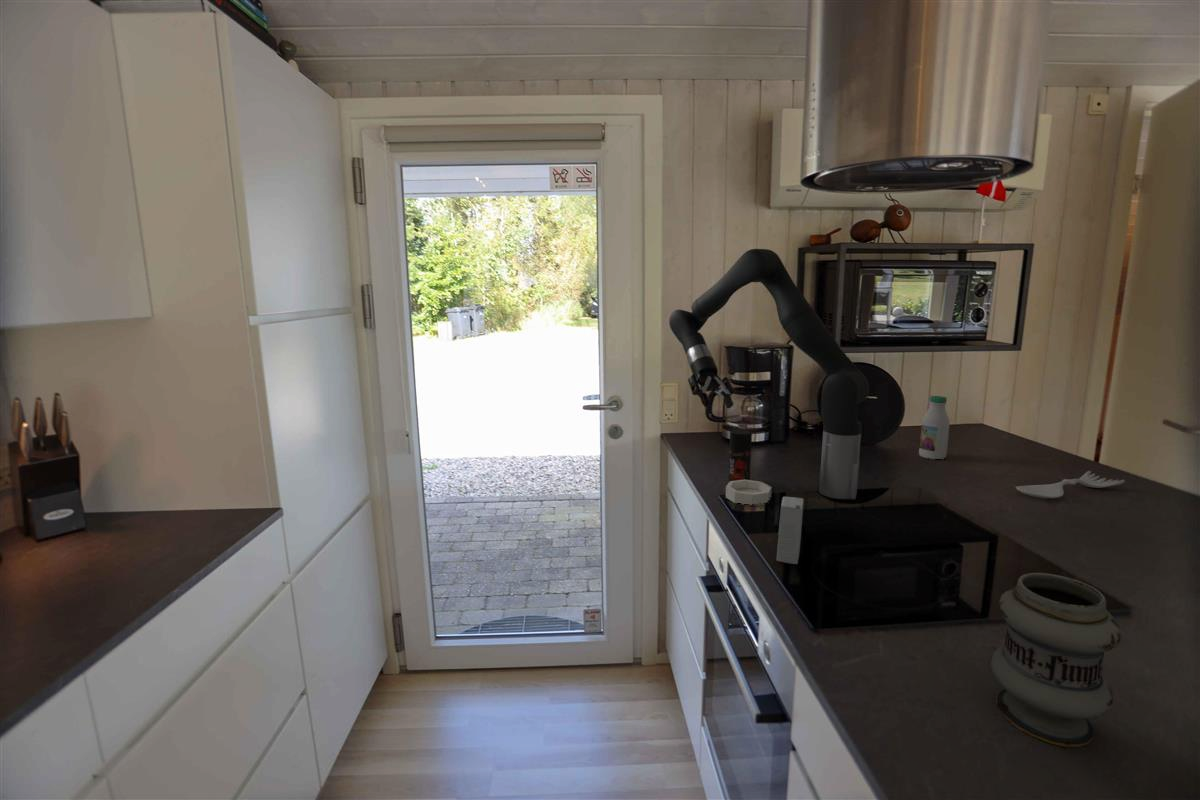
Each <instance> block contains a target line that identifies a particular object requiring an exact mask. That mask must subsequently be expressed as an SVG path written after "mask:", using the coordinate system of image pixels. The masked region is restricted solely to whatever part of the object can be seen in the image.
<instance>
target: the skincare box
mask: <svg viewBox="0 0 1200 800" xmlns="http://www.w3.org/2000/svg"><path fill="white" fill-rule="evenodd" d="M804 502H805V501H804V498H802V497H801V498H800V497H793V496H783V497H782V498H781V505H780V512H779V513H780V515H779V524H778V536H777V537H778V538H777V547H776V548H777V549H776V559H775V560H776V561H777V562H780V563H786V564H792V565H798V563H799V558H800V550H801V538H802V526H803V515H804V513H803V512H804Z"/></svg>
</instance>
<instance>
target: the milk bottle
mask: <svg viewBox="0 0 1200 800" xmlns="http://www.w3.org/2000/svg"><path fill="white" fill-rule="evenodd" d="M947 399H948V398H947V397H946V396H942V395H932V396H931V395H930V397H929V407H928V410H927V412H926V413H925V415H924V416H923V418H922V423H921V430H920V438H919V450H918V455H919V456H920V457H922V458H925V459H928V458H929V459H928V460H935V459H941V460H945V459H946V458H947V454H948V453H947V452H948V444H949V443H948V442H949V434H950V432H949V431H950V419H949V416H948V414H947V411H946V405H947ZM944 458H945V459H944Z"/></svg>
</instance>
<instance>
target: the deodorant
mask: <svg viewBox="0 0 1200 800" xmlns="http://www.w3.org/2000/svg"><path fill="white" fill-rule="evenodd" d="M752 435H753V432H752V431H751V430H748V429H741V428H738V429H737V428H736V429H731V430H729V456H728V457H729V459H728V480H727V481H728V483H729V482H730V481H737V480H751V465H752V464H751V459H752V441H753V440H752Z"/></svg>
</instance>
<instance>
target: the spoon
mask: <svg viewBox="0 0 1200 800" xmlns="http://www.w3.org/2000/svg"><path fill="white" fill-rule="evenodd" d="M1091 473H1092V471H1091V470H1088V471H1086V472H1085V473H1084V474H1083V475H1082V476H1080V477H1079V478H1071V479H1070V478H1069V479H1067V478H1066V479H1062V481H1058V482H1056V483H1055V482H1054V483H1051V484H1050V483H1047V484H1046V483H1045V484H1033V485H1032V484H1031V485H1030V484H1029V485H1017V486H1015V489H1016V490H1017V491H1018V492H1021V493H1022V494H1025V495H1027V496H1031V497H1034V498H1038V499H1048V500H1049V499H1058V498H1061V497H1062V496H1064V494H1065V493H1064V488H1063V487H1064V486H1066V485H1072V486H1073V485H1076V484H1081V485H1083V486H1085V487H1088V488H1093V489H1099V488H1100V489H1101V488H1108V487H1113V486H1118V485H1122V484H1124V483H1125V479H1121V480H1119V479H1115V480H1114V479H1112V478H1111V479H1108V480H1107V478H1106V477H1103V478H1100V475H1096V473H1092V474H1091Z"/></svg>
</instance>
